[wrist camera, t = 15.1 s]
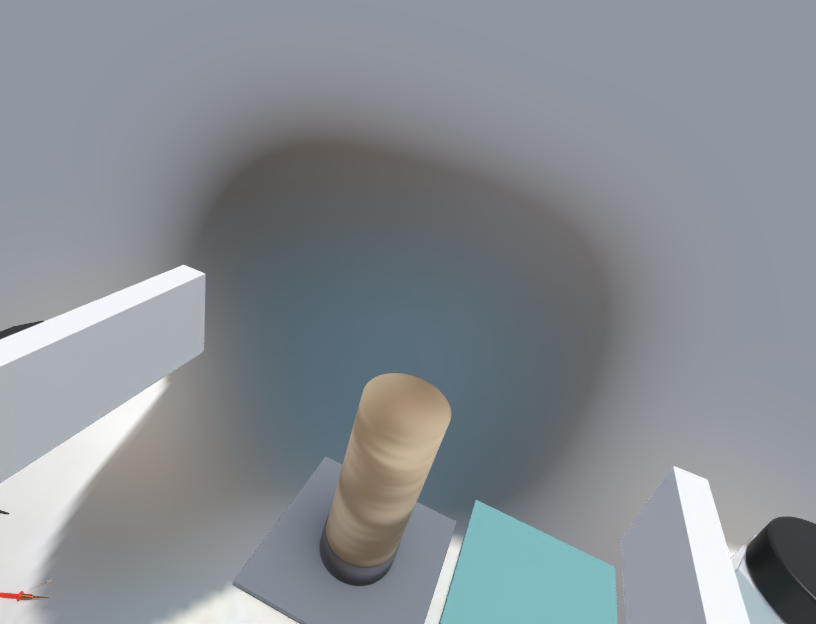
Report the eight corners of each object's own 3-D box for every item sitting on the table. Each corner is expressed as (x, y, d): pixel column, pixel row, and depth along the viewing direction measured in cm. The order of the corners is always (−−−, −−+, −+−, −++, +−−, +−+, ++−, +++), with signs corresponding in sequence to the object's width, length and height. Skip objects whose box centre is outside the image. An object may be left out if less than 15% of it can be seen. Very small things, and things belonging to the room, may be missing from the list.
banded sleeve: (404, 535, 35) (462, 396, 28) (375, 601, 31) (436, 454, 24) (342, 502, 36) (383, 360, 30) (304, 561, 32) (344, 409, 25)
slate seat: (455, 524, 38) (456, 521, 38) (404, 683, 28) (405, 680, 27) (325, 459, 40) (325, 456, 40) (232, 584, 30) (233, 580, 30)
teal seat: (612, 569, 38) (614, 566, 38) (620, 744, 28) (623, 741, 28) (474, 502, 40) (475, 499, 40) (434, 641, 30) (436, 638, 30)
